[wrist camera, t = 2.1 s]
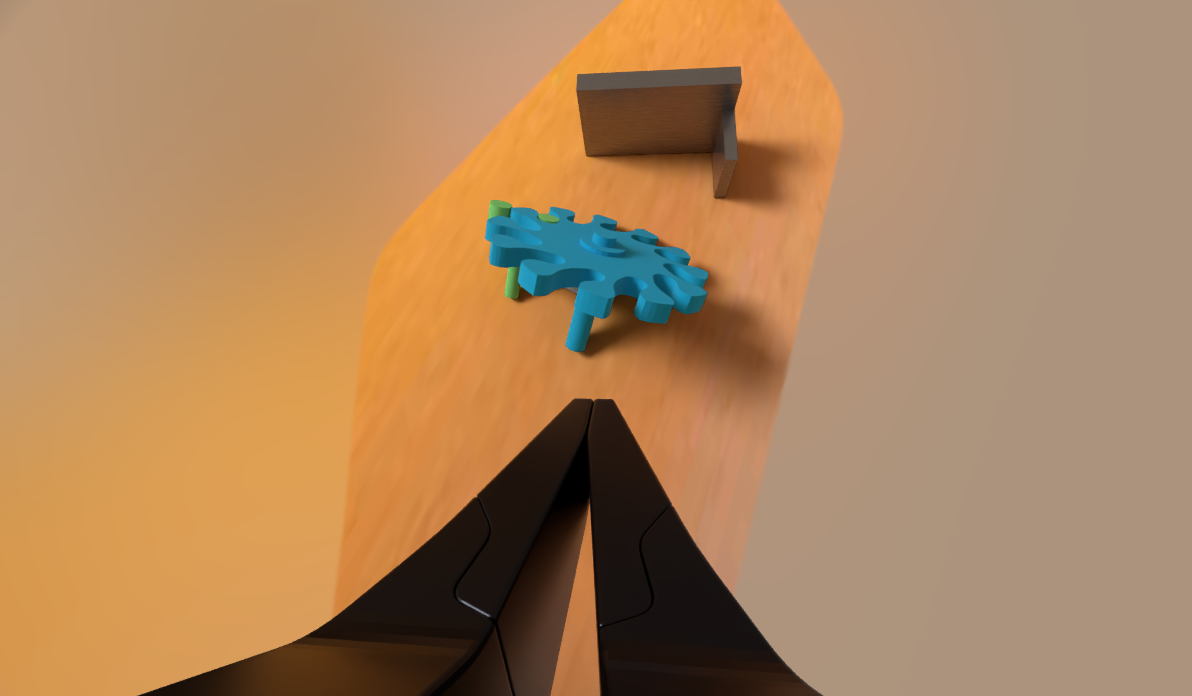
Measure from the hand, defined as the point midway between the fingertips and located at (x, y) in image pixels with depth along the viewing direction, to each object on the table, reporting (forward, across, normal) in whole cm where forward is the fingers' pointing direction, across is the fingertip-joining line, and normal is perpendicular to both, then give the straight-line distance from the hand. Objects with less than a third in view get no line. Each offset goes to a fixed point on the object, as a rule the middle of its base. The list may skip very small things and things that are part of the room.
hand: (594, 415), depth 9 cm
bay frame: (+19, -2, -3) cm, 19 cm away
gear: (+14, +1, +3) cm, 15 cm away
